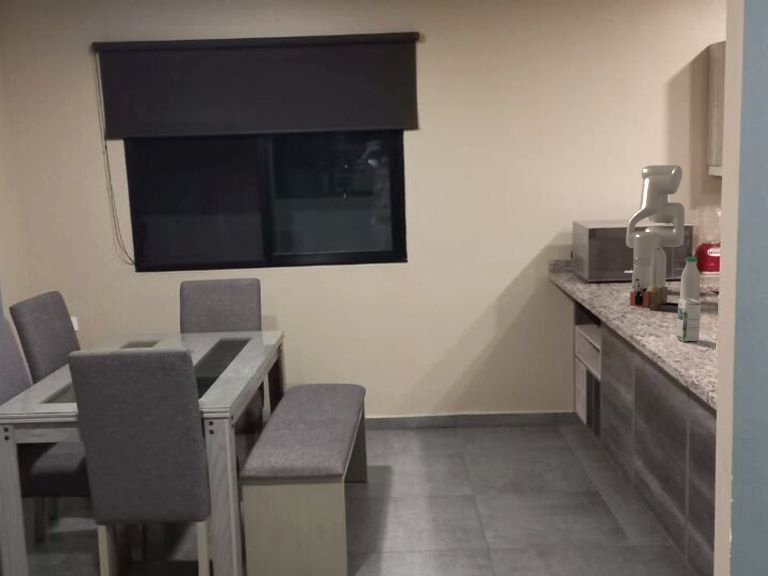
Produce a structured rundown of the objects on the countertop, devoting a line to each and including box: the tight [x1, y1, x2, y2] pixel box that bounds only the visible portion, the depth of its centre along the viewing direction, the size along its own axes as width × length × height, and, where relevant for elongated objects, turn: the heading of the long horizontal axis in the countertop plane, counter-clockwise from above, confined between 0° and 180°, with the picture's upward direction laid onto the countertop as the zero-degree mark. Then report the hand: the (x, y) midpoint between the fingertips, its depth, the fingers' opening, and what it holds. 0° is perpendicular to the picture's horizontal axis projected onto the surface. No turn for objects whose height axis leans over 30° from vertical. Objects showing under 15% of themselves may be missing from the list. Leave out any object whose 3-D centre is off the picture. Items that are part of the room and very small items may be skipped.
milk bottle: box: [679, 256, 701, 301], centre depth 331 cm, size 8×8×20 cm
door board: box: [649, 286, 669, 312], centre depth 321 cm, size 15×2×10 cm, turn 141°
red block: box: [629, 290, 651, 308], centre depth 327 cm, size 4×8×7 cm, turn 51°
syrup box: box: [675, 298, 702, 342], centre depth 264 cm, size 6×6×14 cm
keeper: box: [657, 301, 678, 313], centre depth 317 cm, size 9×12×2 cm
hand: (640, 303), depth 327 cm, fingers closed on red block, 4 cm apart
